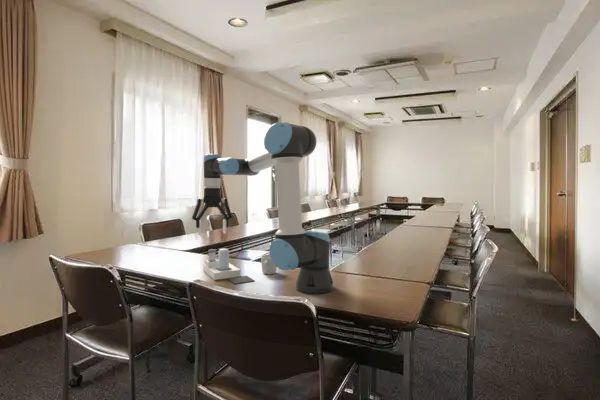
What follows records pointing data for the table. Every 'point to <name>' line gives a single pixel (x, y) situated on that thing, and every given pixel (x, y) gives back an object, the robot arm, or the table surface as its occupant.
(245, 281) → the pad
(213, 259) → the plunger
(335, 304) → the table surface
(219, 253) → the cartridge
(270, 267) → the cup
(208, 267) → the housing
